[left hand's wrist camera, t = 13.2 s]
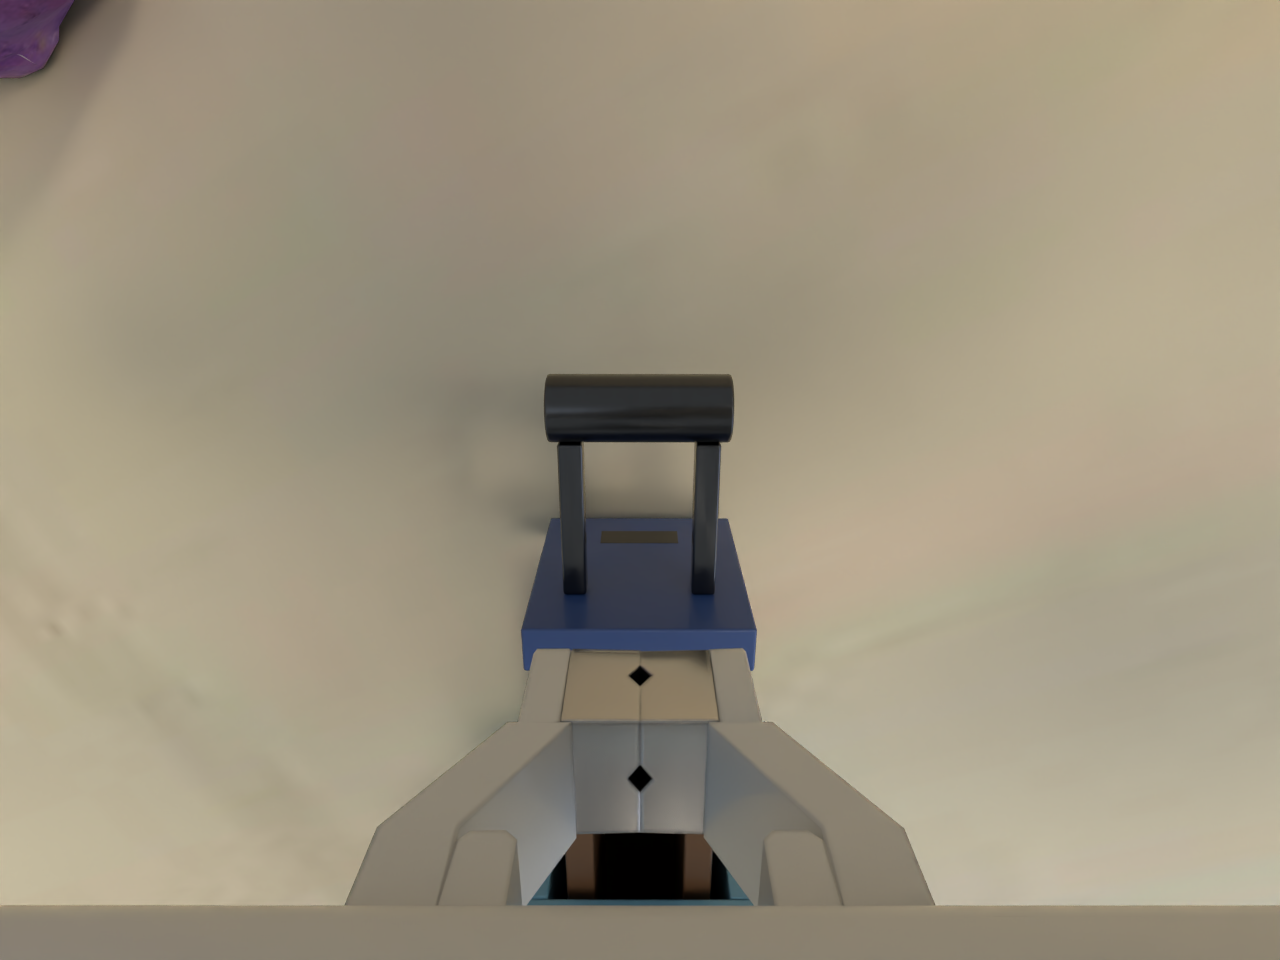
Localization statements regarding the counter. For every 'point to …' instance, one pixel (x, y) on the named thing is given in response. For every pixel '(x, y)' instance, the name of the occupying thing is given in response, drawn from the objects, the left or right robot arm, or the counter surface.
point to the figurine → (29, 34)
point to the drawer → (639, 586)
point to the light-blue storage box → (721, 894)
